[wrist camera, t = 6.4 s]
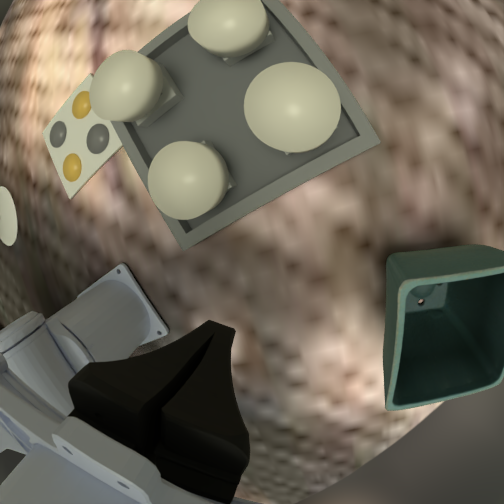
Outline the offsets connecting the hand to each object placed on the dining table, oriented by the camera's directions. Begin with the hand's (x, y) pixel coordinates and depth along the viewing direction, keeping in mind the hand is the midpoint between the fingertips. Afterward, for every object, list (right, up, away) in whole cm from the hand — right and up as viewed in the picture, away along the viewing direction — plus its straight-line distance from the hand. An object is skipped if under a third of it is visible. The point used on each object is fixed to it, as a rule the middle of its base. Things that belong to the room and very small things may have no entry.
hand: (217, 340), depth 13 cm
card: (-15, +15, +9) cm, 23 cm away
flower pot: (+15, +2, +7) cm, 16 cm away
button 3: (-2, +10, +7) cm, 12 cm away
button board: (-1, +15, +6) cm, 16 cm away
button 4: (-6, +16, +5) cm, 18 cm away
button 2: (+1, +20, +3) cm, 20 cm away
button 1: (+4, +13, +3) cm, 14 cm away
